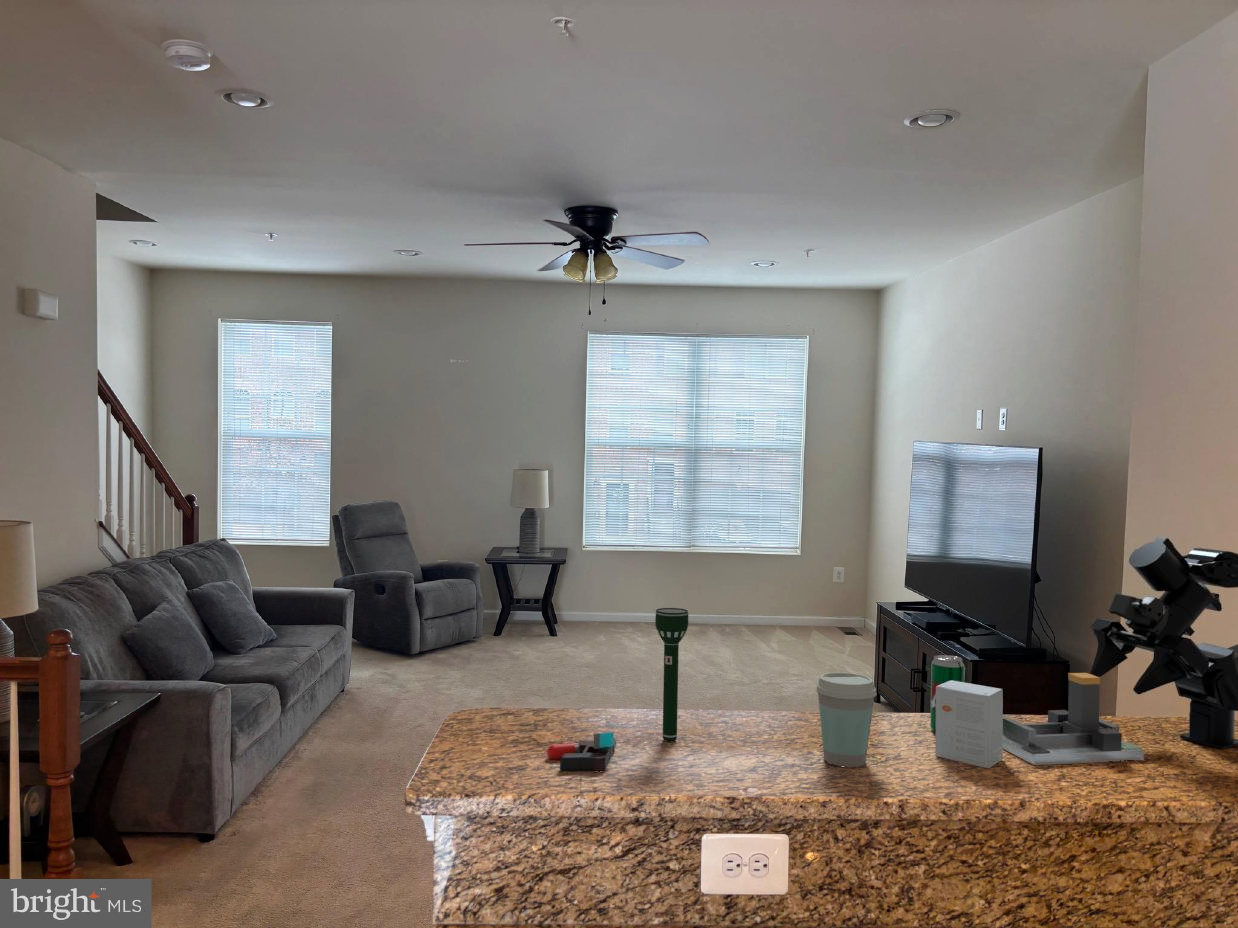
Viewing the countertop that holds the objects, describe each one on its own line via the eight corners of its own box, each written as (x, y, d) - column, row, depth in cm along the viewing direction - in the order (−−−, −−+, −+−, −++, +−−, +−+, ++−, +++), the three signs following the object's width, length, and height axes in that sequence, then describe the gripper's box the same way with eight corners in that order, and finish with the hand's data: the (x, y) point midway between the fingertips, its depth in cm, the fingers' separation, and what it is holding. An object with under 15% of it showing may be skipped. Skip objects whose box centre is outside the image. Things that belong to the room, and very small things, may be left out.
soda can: (966, 737, 139) (967, 662, 139) (932, 735, 140) (934, 660, 140) (960, 728, 144) (961, 655, 144) (928, 725, 145) (929, 653, 145)
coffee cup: (879, 756, 129) (880, 675, 129) (870, 775, 121) (871, 688, 121) (821, 748, 132) (822, 668, 132) (808, 765, 124) (810, 680, 125)
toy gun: (620, 749, 131) (620, 717, 131) (607, 777, 119) (608, 742, 119) (556, 745, 132) (557, 713, 132) (538, 772, 120) (539, 737, 120)
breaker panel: (1082, 733, 142) (1083, 708, 142) (1144, 759, 129) (1144, 732, 129) (980, 737, 139) (981, 712, 139) (1033, 765, 126) (1034, 737, 126)
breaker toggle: (1085, 731, 137) (1086, 671, 137) (1104, 739, 133) (1105, 678, 133) (1062, 732, 137) (1063, 672, 137) (1080, 740, 133) (1081, 678, 133)
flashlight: (648, 742, 133) (650, 611, 133) (659, 733, 138) (662, 606, 138) (680, 747, 131) (682, 614, 131) (690, 737, 136) (692, 609, 136)
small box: (1003, 760, 128) (1004, 688, 128) (989, 769, 124) (990, 695, 124) (949, 747, 134) (950, 678, 134) (934, 756, 129) (935, 685, 129)
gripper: (1100, 569, 146) (1040, 637, 144) (1192, 584, 128) (1125, 662, 126) (1141, 614, 147) (1083, 683, 145) (1238, 636, 129) (1173, 714, 127)
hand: (1113, 684), depth 136 cm, fingers open, 9 cm apart
